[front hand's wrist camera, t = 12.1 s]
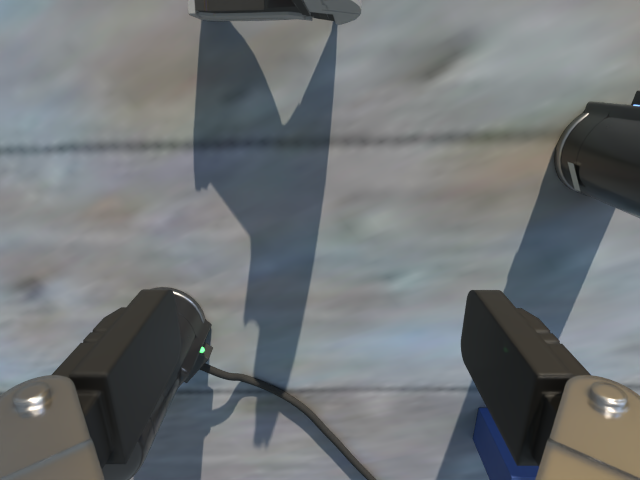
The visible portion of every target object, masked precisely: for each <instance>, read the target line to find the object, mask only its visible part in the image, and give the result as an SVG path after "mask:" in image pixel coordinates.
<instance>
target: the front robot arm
mask: <svg viewBox="0 0 640 480" xmlns="http://www.w3.org/2000/svg"><path fill="white" fill-rule="evenodd" d="M210 328H211V323H209V322H208V321H207V320H206V319H205V316H204V313H203V311H202V309H201V307H200V306H199V304H198V303H197V302H196V301H195V300H194V299H193V298H192V297H190V296H189V295H187V294H186V293H184V292H182V291H179V290H176V289H173V288H165V287H160V288H154V289H150V290H141V291H140V292H139V293H138V295H137V296H136V297H135V298H134V299H133V300H132V302H131V303H130V304H129V305H128V306H127V307H126V308H120V309H118V310H116V311H115V312H113V313H111V314H110V315H108V316H106V317H105V318H103V319H102V321H101V322H100V323H99V324H98V325H97V326H96V327H95V328H94V329H93V332H92V333H90V334H89V335H88V336H87V337H86V338H85V339H84V340H83V343H80V344H79V346H78V347H77V348H76V349H75V350H74V351H73V352H72V353H71V354H70V355H69V356H68V358H67V359H66V360H65V361H64V362H63V363H62V364H61V365H60V366H59V367H58V368H57V370H56V371H55V372H54V373H53V374H52V375H49V376H42V377H37V378H34V379H31V380H28V381H25V382H23V383H21V384H18V385H16V386H15V387H13V388H11V389H9V390H8V391H6V392H5V393H3V394H2V395H1V396H0V480H130V479H131V478H132V477H133V476H134V475H135V474H136V473H137V472H138V470H139V469H140V467H141V466H142V464H143V462H144V461H145V459H146V456H147V454H148V452H149V450H150V448H151V446H152V443H153V441H154V439H155V436H156V434H157V432H158V430H159V428H160V426H161V423H162V421H163V419H164V417H165V415H166V412H167V410H168V408H169V406H170V404H171V402H172V400H173V397H174V395H175V393H176V391H177V389H178V387H179V386H180V385H181V384H182V383H183V382H185V383H187V382H188V381H189V380H190V379H191V378H192V377H193V376H194V375H195V374H196V372H197V371H198V370H199V369H200V370H202V371H205V372H207V373H210V374H212V375H214V376H217V377H220V378H223V379H226V380H232V381H242V382H246V383H249V384H252V385H254V386H257V387H260V388H262V389H265V390H267V391H269V392H271V393H273V394H275V395H277V396H279V397H281V398H283V399H284V400H286V401H288V402H289V403H291V404H292V405H294V406H295V407H297V408H298V409H299V410H301V411H302V412H303V413H304V414H305V415H306V416H308V417H309V418H310V419H311V420H312V421H313V423H314V424H315V425H316V426H317V427H318V428H319V429H320V430H321V431H322V432H323V433H324V434H325V436H326V437H327V438H328V439H329V440H330V441H331V442H332V443H333V444H334V445H335V446H336V447H337V448H338V449H339V450H340V451H341V452H342V454H343V455H344V456H345V457H346V458H347V459H348V460H349V461H350V462H351V464H352V465H353V466H354V467H355V468H356V469H357V470H358V471H359V472H360V473H361V474H362V475H363V476H364V477H365V478H366V479H367V480H376V479H375V478H374V477H373V476H372V475H371V474H370V473H369V472H368V471H367V470H366V469H365V468H364V467H363V466H362V465H361V464H360V463H359V462H358V461H357V459H356V458H355V457H354V456H353V455H352V454H351V453H350V452H349V451H348V449H347V448H346V447H345V446H344V445H343V444H342V443H341V442H340V441H339V439H338V438H337V437H336V436H335V435H334V434H333V433H332V432H331V431H330V430H329V429H328V428H327V427H326V426H325V425H324V424H323V422H322V421H321V420H320V419H319V418H318V417H317V416H316V415H315V414H314V413H313V412H312V411H311V410H310V409H309V408H308V407H307V406H305V405H304V404H303V403H301V402H300V401H299V400H297V399H296V398H294V397H293V396H291V395H289V394H288V393H286V392H284V391H283V390H281V389H279V388H277V387H275V386H273V385H270V384H268V383H266V382H263V381H261V380H258V379H255V378H253V377H250V376H247V375H243V374H237V373H228V372H225V371H222V370H220V369H217V368H215V367H213V366H210V365H208V364H206V362H207V360H208V359H209V357H210V354H211V352H212V349H213V347H211V346H210V345H208V344H207V343H205V342H204V341H205V339H206V337H207V335H208V332H209V330H210ZM461 352H462V357H463V361H464V363H465V365H466V367H467V369H468V371H469V373H470V375H471V377H472V379H473V381H474V383H475V385H476V387H477V389H478V391H479V393H480V395H481V397H482V398H483V400H484V402H485V404H486V406H487V408H488V410H489V412H490V414H491V416H492V418H493V420H494V422H495V424H496V426H497V428H498V430H499V432H500V434H501V435H502V437H503V439H504V441H505V443H506V445H507V447H508V449H509V451H510V453H511V455H512V457H513V459H514V461H515V463H516V465H517V466H539V469H538V473H537V476H536V479H535V480H640V396H639V395H638V394H637V393H635V392H634V391H632V390H631V389H629V388H627V387H625V386H624V385H622V384H619V383H617V382H615V381H612V380H609V379H606V378H603V377H598V376H591V375H590V373H589V372H588V371H587V370H586V369H585V368H584V367H583V366H582V365H581V364H580V363H579V362H578V361H577V359H576V358H575V357H574V356H573V355H572V354H571V353H570V352H569V351H568V350H567V349H566V348H565V346H564V345H563V344H560V341H559V340H558V339H557V338H556V337H555V336H554V335H553V333H550V330H549V329H548V328H547V327H546V326H545V325H544V324H543V323H542V322H541V321H540V319H538V318H537V317H535V316H533V315H532V314H530V313H528V312H527V311H525V310H523V309H522V308H516V307H515V306H514V305H513V304H512V303H511V302H510V300H509V299H508V298H507V297H506V296H505V295H504V294H503V292H502V291H500V290H471V291H470V292H469V294H468V296H467V301H466V308H465V315H464V322H463V329H462V336H461Z"/></svg>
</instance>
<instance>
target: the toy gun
mask: <svg viewBox="0 0 640 480" xmlns="http://www.w3.org/2000/svg"><path fill="white" fill-rule="evenodd" d="M361 3H362V0H188V12H189V15H191V16H193V17H196V18H198V19H201V20H206V21H265V20H290V19H301V20H310V21H312V17H313V18H318V19H324V20H331V21H335V23H336V25H341V24H344V23H348V22H350V21H353V20H355V19H356V18H358V17H359V16H360V14H361Z"/></svg>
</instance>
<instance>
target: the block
mask: <svg viewBox="0 0 640 480" xmlns="http://www.w3.org/2000/svg"><path fill="white" fill-rule="evenodd" d="M473 441H474V443H475V445H476V448H477V450H478V453H479V455H480V457H481V460H482V462H483V464H484V467H485V469H486V472H487V474H488V476H489V479H490V480H535V479H536V476H537V473H538V469H539V466H517V465H516V463H515V461H514V459H513V457H512V455H511V453H510V451H509V449H508V447H507V445H506V443H505V441H504V439H503V437H502V435H501V434H500V432H499V430H498V428H497V426H496V424H495V422H494V420H493V418H492V416H491V414H490V412H489V410H488V408H478V414H477V419H476V424H475V430H474V435H473Z"/></svg>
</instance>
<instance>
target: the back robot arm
mask: <svg viewBox="0 0 640 480" xmlns="http://www.w3.org/2000/svg"><path fill="white" fill-rule="evenodd" d="M555 168H556V171H557V174H558V176H559V178H560V180H561V181H562V182H563V183H564V184H565V185H566V186H567V187H569V188H570V189H572V190H574V191H576V192H579V193H581V194H584V195H587V196H590V197H592V198H595V199H597V200H599V201H601V202H604V203H606V204H608V205H610V206H613V207H615V208H617V209H620V210H622V211H624V212H626V213H629V214H631V215H633V216H635V217H638V218H640V91H637V92H636V94H635V97H634V99H633V102H632V104H631V105H623V104H611V103H600V102H589V103H588V104H587V106H586V109H585V111H584V112H583V113H582V114H581V115H579V116H578V117H577V118H575V119H574V120H573V121H572V122H571V123H570V124H569V125H568V126H567V128H566V129H565V130H564V132H563V134H562V135H561V137H560V139H559V141H558V144H557V147H556V151H555Z"/></svg>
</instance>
